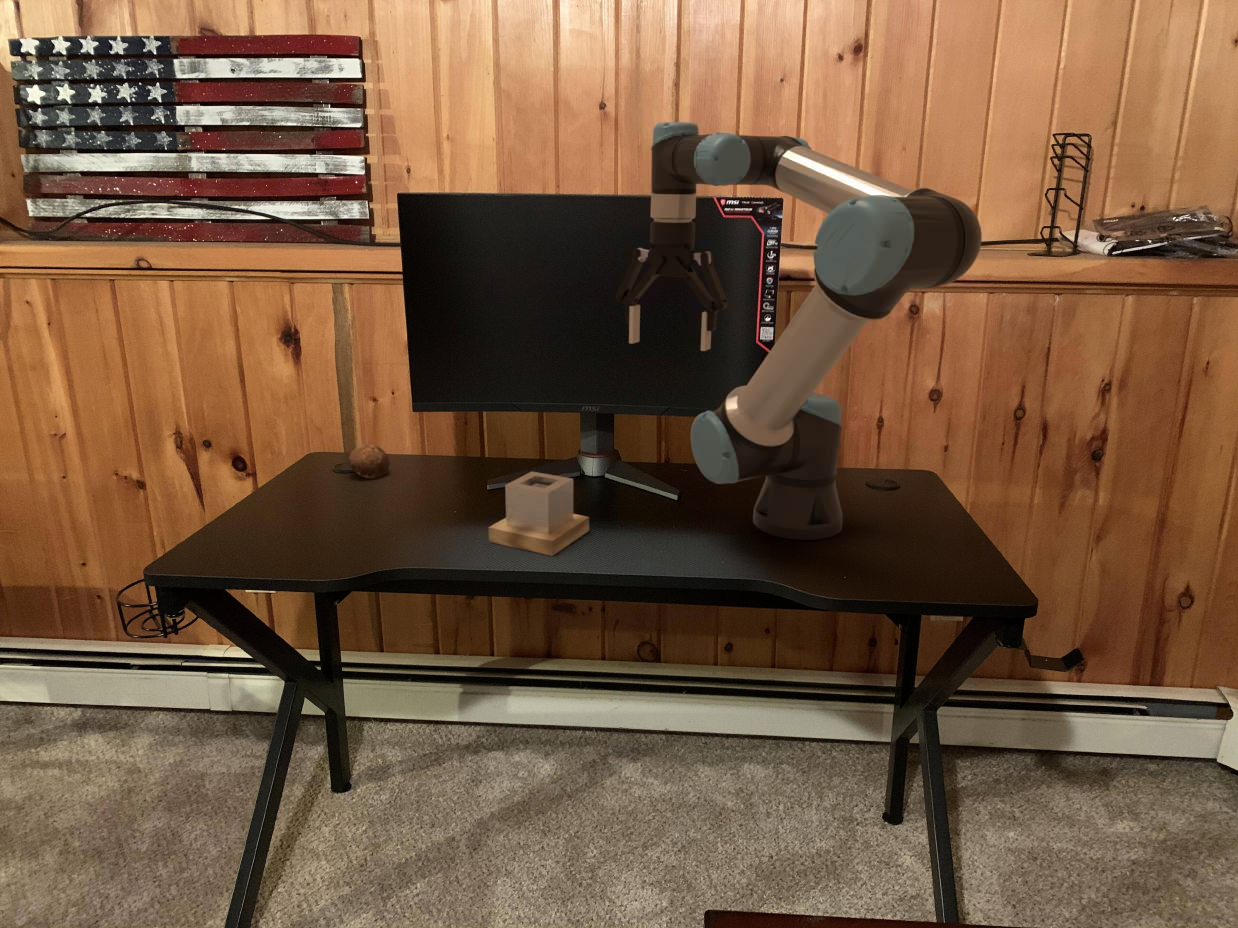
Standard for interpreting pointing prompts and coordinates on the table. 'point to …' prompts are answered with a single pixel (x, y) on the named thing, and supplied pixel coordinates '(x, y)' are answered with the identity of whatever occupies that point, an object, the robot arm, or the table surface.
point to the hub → (539, 502)
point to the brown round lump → (369, 461)
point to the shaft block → (539, 535)
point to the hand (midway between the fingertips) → (669, 346)
